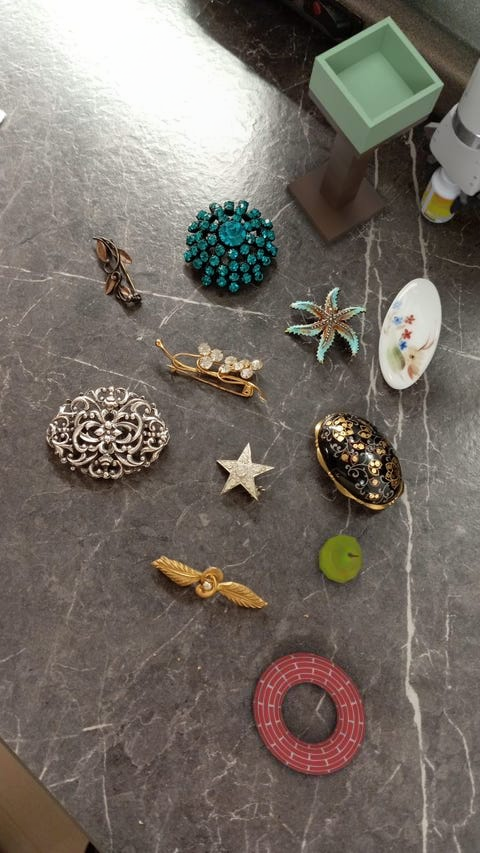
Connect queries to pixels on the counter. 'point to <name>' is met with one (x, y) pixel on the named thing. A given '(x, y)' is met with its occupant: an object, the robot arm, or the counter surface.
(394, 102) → the bin
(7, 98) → the counter surface
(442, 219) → the supplement bottle
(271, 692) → the torus
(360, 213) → the stand
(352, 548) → the fruit
